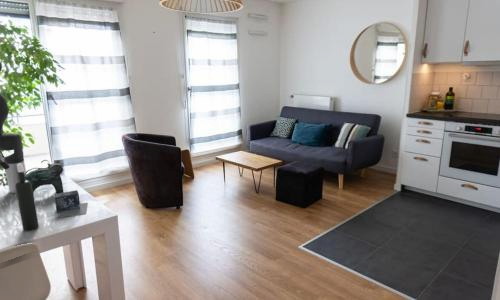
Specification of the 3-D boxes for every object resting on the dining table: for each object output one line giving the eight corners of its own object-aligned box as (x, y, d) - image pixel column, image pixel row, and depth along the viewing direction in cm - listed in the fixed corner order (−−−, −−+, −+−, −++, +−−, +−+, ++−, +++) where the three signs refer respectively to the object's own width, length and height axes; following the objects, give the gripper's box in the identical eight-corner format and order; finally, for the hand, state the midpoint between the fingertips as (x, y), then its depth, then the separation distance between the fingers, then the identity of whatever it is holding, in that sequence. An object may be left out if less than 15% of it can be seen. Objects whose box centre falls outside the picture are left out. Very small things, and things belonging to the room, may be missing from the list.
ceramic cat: (64, 189, 191) (59, 156, 186) (67, 192, 187) (63, 158, 182) (23, 198, 177) (17, 163, 172) (27, 202, 173) (20, 166, 168)
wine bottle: (37, 223, 151) (26, 161, 143) (39, 228, 147) (28, 164, 139) (22, 227, 147) (10, 163, 139) (24, 232, 143) (12, 166, 135)
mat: (62, 206, 169) (62, 205, 169) (87, 202, 173) (87, 202, 173) (57, 217, 157) (57, 217, 156) (85, 213, 161) (85, 213, 161)
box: (54, 198, 159) (78, 193, 165) (53, 194, 164) (77, 189, 169) (56, 212, 161) (80, 207, 167) (56, 208, 166) (79, 203, 172)
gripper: (-16, 141, 144) (12, 170, 153) (-9, 130, 155) (17, 158, 164) (-34, 149, 143) (-3, 178, 152) (-25, 138, 153) (2, 166, 163)
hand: (7, 168), depth 158 cm, fingers closed
